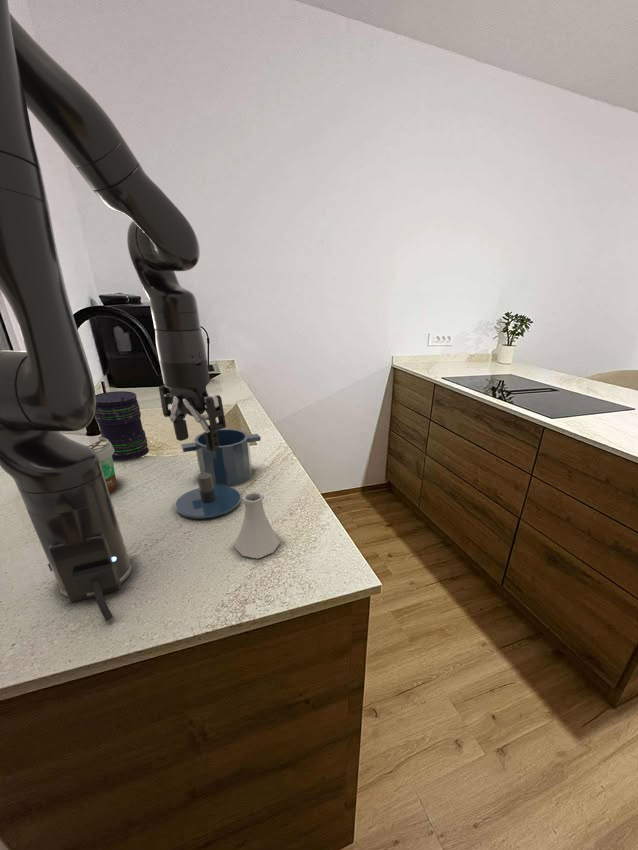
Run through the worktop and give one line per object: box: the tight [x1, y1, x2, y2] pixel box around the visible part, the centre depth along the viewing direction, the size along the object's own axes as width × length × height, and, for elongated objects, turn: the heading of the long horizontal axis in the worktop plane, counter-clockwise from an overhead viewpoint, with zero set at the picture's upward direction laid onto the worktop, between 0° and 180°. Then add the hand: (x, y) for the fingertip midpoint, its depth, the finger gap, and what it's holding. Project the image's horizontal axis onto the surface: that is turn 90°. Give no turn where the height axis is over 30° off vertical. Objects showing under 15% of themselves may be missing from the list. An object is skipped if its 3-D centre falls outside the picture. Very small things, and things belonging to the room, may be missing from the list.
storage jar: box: [94, 390, 150, 462], centre depth 96 cm, size 10×10×15 cm
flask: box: [234, 491, 281, 560], centre depth 65 cm, size 7×7×10 cm
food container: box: [86, 436, 118, 494], centre depth 80 cm, size 12×6×10 cm, turn 168°
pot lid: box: [175, 473, 241, 519], centre depth 78 cm, size 12×12×7 cm
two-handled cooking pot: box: [181, 428, 261, 487], centre depth 89 cm, size 11×17×10 cm
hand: (197, 444), depth 73 cm, fingers open, 8 cm apart
